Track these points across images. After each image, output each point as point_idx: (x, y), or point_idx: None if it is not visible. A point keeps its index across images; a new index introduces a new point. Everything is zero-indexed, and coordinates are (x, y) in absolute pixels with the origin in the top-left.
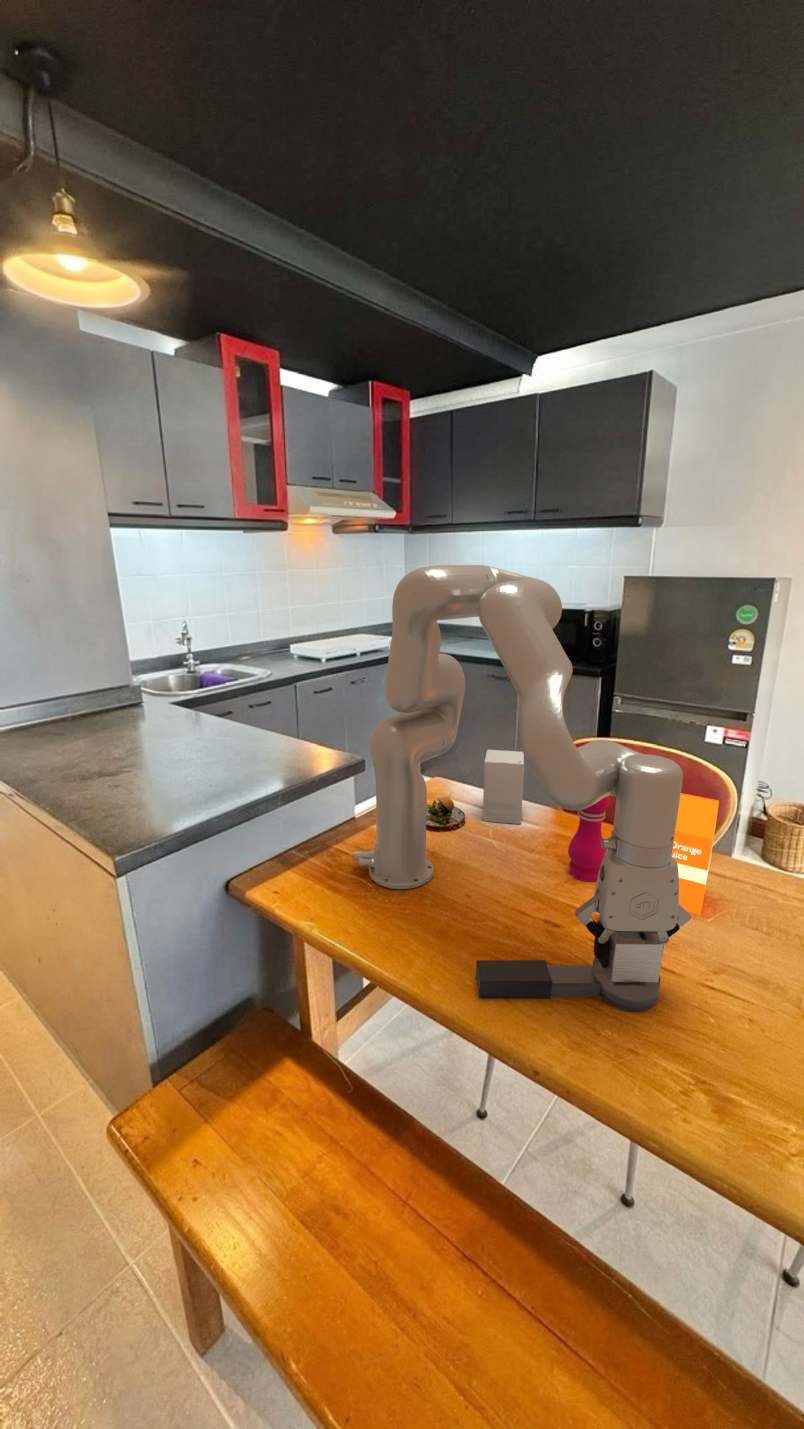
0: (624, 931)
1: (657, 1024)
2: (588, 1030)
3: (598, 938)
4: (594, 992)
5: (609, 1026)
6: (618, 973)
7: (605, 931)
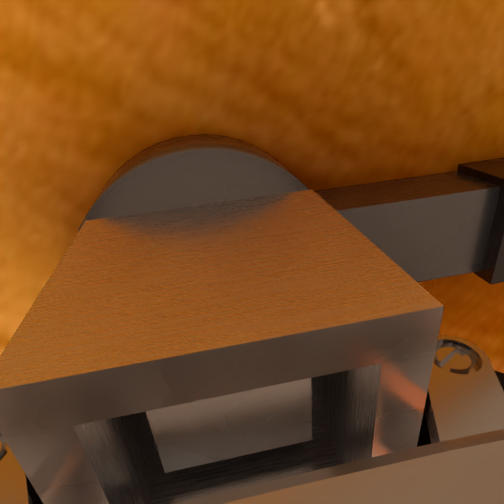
0: (234, 461)
1: (116, 75)
2: (393, 15)
3: (485, 359)
4: (328, 196)
5: (309, 45)
6: (297, 210)
7: (496, 417)
